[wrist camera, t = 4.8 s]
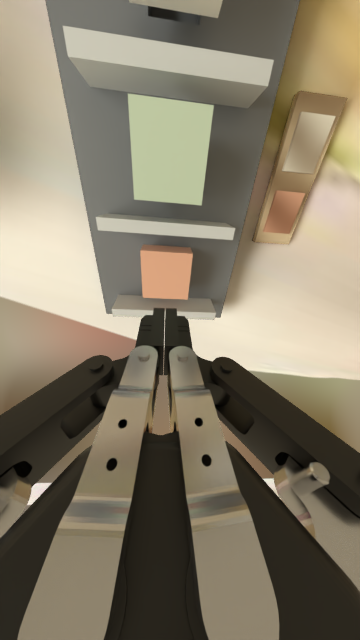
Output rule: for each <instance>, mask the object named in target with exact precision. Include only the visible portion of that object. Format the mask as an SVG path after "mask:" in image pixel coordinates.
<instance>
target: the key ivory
mask: <svg viewBox="0 0 360 640" xmlns="http://www.w3.org/2000/svg"><path fill="white" fill-rule="evenodd" d="M222 1H223V0H129V2H130V3H135V4H141V5H146V6H152V7H158V8H163V9H169V10H174V11H180V12H186V13H191V14H197V15H202V16H208V17H213V18H218V16H219V12H220V8H221V5H222Z"/></svg>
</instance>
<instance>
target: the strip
mask: <svg viewBox="0 0 360 640" xmlns="http://www.w3.org/2000/svg"><path fill="white" fill-rule="evenodd" d="M346 100H347V98H344V97H338V96H331V95H324V94H318V93H311V92H304V91H299V92H298V93H297V94H295V95H294V99H293V102H292V106H291V109H290V112H289V116H288V119H287V123H286V126H285V130H284V133H283V137H282V140H281V144H280V147H279V150H278V154H277V157H276V161H275V164H274V168H273V171H272V175H271V178H270V182H269V185H268V188H267V192H266V195H265V199H264V202H263V206H262V209H261V213H260V216H259V220H258V223H257V226H256V230H255V233H254V237H253V240H252V241H254V242H263V243H277V244H289V242H290V239H291V237H292V234H293V232H294V229H295V227H296V224H297V222H298V219H299V217H300V214H301V212H302V210H303V207H304V205H305V202H306V200H307V197H308V195H309V192H310V190H311V187H312V185H313V182H314V180H315V177H316V175H317V172H318V170H319V167H320V165H321V162H322V160H323V157H324V155H325V152H326V150H327V147H328V145H329V143H330V140H331V138H332V135H333V133H334V130H335V128H336V125H337V123H338V120H339V118H340V115H341V113H342V110H343V108H344V105H345V103H346Z"/></svg>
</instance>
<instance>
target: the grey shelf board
mask: <svg viewBox="0 0 360 640" xmlns="http://www.w3.org/2000/svg"><path fill="white" fill-rule="evenodd" d="M299 2H300V0H223V1H222V5H221V8H220V12H219V16H218V18H213V17H208V16H202V15H197V14H191V13H186V12H180V11H174V10H169V9H163V8H158V7H152V6H146V5H141V4H135V3H130V2H129V0H46V6H47V11H48V16H49V21H50V26H51V31H52V36H53V41H54V47H55V52H56V57H57V62H58V67H59V72H60V77H61V82H62V88H63V93H64V98H65V103H66V108H67V113H68V118H69V123H70V129H71V134H72V139H73V144H74V149H75V154H76V159H77V164H78V170H79V175H80V180H81V185H82V190H83V195H84V200H85V205H86V211H87V216H88V221H89V226H90V231H91V236H92V241H93V246H94V252H95V257H96V262H97V267H98V272H99V277H100V282H101V287H102V293H103V298H104V303H105V308H106V313H107V314H113V316H118V317H144V316H145V315H153V309H154V308H165V315H166V308H177V316H185V318H186V319H205V320H214V319H215V317H218V318H220V317H221V313H222V309H223V305H224V301H225V297H226V293H227V289H228V285H229V281H230V277H231V273H232V269H233V265H234V261H235V257H236V253H237V249H238V245H239V241H240V237H241V233H242V229H243V225H244V221H245V217H246V213H247V209H248V205H249V201H250V197H251V193H252V189H253V185H254V181H255V177H256V173H257V169H258V165H259V161H260V157H261V153H262V149H263V145H264V141H265V137H266V133H267V129H268V125H269V121H270V117H271V113H272V110H273V106H274V102H275V98H276V94H277V90H278V86H279V82H280V78H281V74H282V70H283V66H284V62H285V58H286V54H287V50H288V46H289V42H290V38H291V34H292V30H293V26H294V22H295V18H296V14H297V10H298V6H299ZM128 94H135V95H143V96H150V97H157V98H165V99H172V100H179V101H187V102H194V103H201V104H208V105H214V108H213V116H212V124H211V132H210V141H209V149H208V157H207V165H206V173H205V181H204V190H203V198H202V205H191V204H180V203H168V202H157V201H146V200H134V189H133V172H132V156H131V139H130V123H129V107H128ZM143 244H146V245H161V246H175V247H190V248H191V250H192V253H193V258H192V266H191V275H190V284H189V293H188V300H184V299H161V298H143V294H142V275H141V256H140V250H141V248H142V246H143ZM164 318H165V317H164Z"/></svg>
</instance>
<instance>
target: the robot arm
mask: <svg viewBox="0 0 360 640" xmlns="http://www.w3.org/2000/svg"><path fill="white" fill-rule="evenodd" d="M164 317H165V355H164V375H168V382H167V391H168V405H169V417H170V433H169V434H165V435H156V434H152V430H153V419H154V412H155V404H156V397H157V390H158V384H159V375H163V351H164ZM218 418H219V419H220V420H221V421H222V422H223V423H224V424H225V425H226V426H227V427H228V428H229V430H230V431H232V433H233V434H234V435H235V436H236V437H237V438H238V439H239V440H240V441H241V442H242V443H243V444H244V445H245V446H246V447H247V448H248V449H249V450H250V451H251V452H252V453H253V454H254V455H255V456H256V457H257V458H258V459H259V460H260V461H261V462H262V463H263V464H264V465H265V466H266V467H267V469H269V471H270V472H271V473H272V474H273V475H274V483H275V487H276V490H277V492H278V495H279V497H280V498H281V499H282V500H283V501H284V503H285V504H286V505H287V506H286V505H285V504H284V503H283V502H282V501H281V499H280V498H279V497H278V496H277V495H276V494H275V493H274V491H273V490H272V489H271V488H270V487H269V486H268V485H267V484H266V482H265V481H264V480H263V479H262V478H261V477H260V476H259V475H258V473H257V472H256V471H255V470H254V469H253V468H252V467H251V465H250V464H249V463H248V462H247V461H246V460H245V458H244V457H243V456H242V455H241V454H240V453H239V452H238V451H237V450H236V449H235V448H234V447H233V446H232V445H231V444H229V443H228V442H227V441H225V440H224V436H223V433H222V429H221V426H220V422H219V419H218ZM101 420H102V421H101ZM100 421H101V424H100V426H99V429H98V432H97V434H96V437H95V440H94V443H93V445H91V446H90V447H89V448H87V449H86V450H85V451H83V452H82V453H81V454H80V455H79V456H78V457H77V458H76V459H75V460H74V461H73V462H72V463H71V464H70V465H69V466H68V467H67V468H66V469H65V470H64V471H63V472H62V473H61V474H60V475H59V477H58V478H57V479H56V480H55V481H54V482H53V483H52V484H51V485H50V486H49V487H48V488H47V489H46V490H45V491H44V492H43V493H42V494H41V496H40V497H39V498H38V499H37V500H36V501H35V502H34V503H33V504H32V505H31V506H30V507H29V508H28V509H27V510H26V511H25V513H24V514H23V515H22V516H21V517H20V518H19V519H18V520H17V521H16V519H17V518H18V517H19V516H20V515H21V514H22V512H23V511H24V510H25V507H26V505H27V503H28V501H29V498H30V494H31V487H32V486H33V485H34V484H35V483H36V482H37V481H39V479H41V478H42V477H43V476H44V475H45V474H46V473H47V472H48V471H49V470H50V469H51V468H52V467H53V466H54V465H55V464H56V463H57V462H58V461H59V460H61V459H62V457H64V456H65V455H66V454H67V453H68V452H69V451H70V450H71V449H72V448H73V447H74V446H75V445H76V444H77V443H78V442H79V441H80V440H82V438H84V437H85V436H86V435H87V434H88V433H89V432H90V431H91V430H92V429H93V428H94V427H95V426H96V425H97V424H98V423H99V422H100ZM288 508H289V509H288ZM15 521H16V522H15ZM14 522H15V523H14ZM13 523H14V524H13ZM12 524H13V525H12ZM11 525H12V526H11ZM0 640H360V453H359V452H357V451H356V450H355V449H353V448H352V447H350V446H349V445H348V444H346V443H345V442H344V441H342V440H341V439H340V438H338V437H337V436H335V435H334V434H333V433H331V432H330V431H329V430H327V429H326V428H325V427H323V426H322V425H321V424H319V423H318V422H316V421H315V420H314V419H312V418H311V417H310V416H308V415H307V414H306V413H304V412H303V411H301V410H300V409H299V408H297V407H296V406H295V405H293V404H292V403H291V402H289V401H288V400H287V399H285V398H284V397H282V396H281V395H280V394H278V393H277V392H276V391H274V390H273V389H272V388H270V387H269V386H268V385H266V384H265V383H263V382H262V381H261V380H259V379H258V378H257V377H255V376H254V375H253V374H251V373H250V372H249V371H247V370H246V369H245V368H243V367H242V366H240V365H239V364H238V363H236V362H235V361H234V360H232V359H230V358H226V357H219V358H216V359H215V360H214V361H213V362H212V361H208V360H205V359H202V358H200V357H198V356H197V355H196V354H195V352H194V351H193V349H192V342H191V336H190V329H189V323H188V320H187V319H186V318H185V316H177V308H166V315H165V308H154V309H153V315H145V316H144V317H143V318H142V319H141V323H140V327H139V332H138V337H137V341H136V346H135V349H133V350H132V351H131V353H130V355H129V356H127V357H125V358H123V359H119V360H115V361H112V360H111V359H110V358H109V357H107V356H103V355H99V356H94V357H91V358H89V359H87V360H86V361H84V362H83V363H81V364H80V365H78V366H76V367H75V368H73V369H72V370H70V371H69V372H67V373H66V374H64V375H62V376H61V377H59V378H58V379H56V380H55V381H53V382H52V383H50V384H49V385H47V386H45V387H44V388H42V389H41V390H39V391H37V392H36V393H34V394H33V395H31V396H30V397H28V398H27V399H25V400H23V401H22V402H20V403H19V404H17V405H16V406H14V407H12V408H11V409H10V410H8V411H6V412H5V413H3V414H2V415H0Z"/></svg>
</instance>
